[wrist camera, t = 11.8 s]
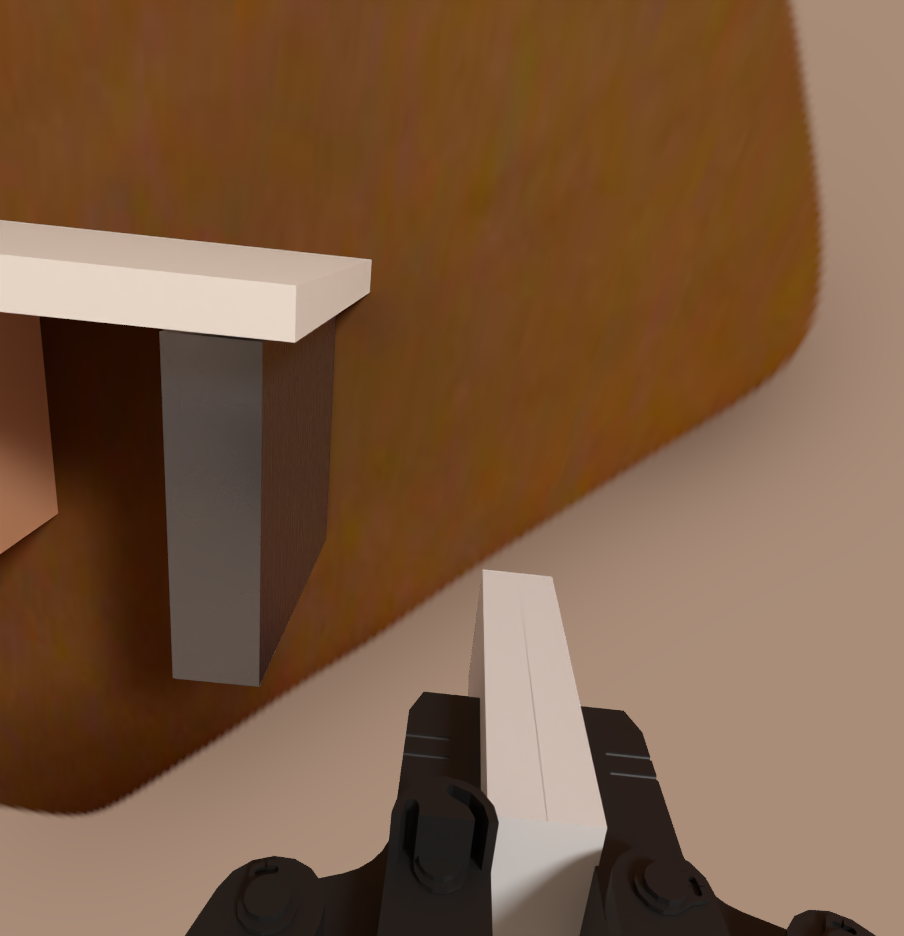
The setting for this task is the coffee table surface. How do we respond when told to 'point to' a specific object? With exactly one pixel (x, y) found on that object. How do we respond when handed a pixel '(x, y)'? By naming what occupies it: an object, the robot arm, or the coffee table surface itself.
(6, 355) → the rust book
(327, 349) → the bookend
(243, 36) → the coffee table surface
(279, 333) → the white upright backboard
